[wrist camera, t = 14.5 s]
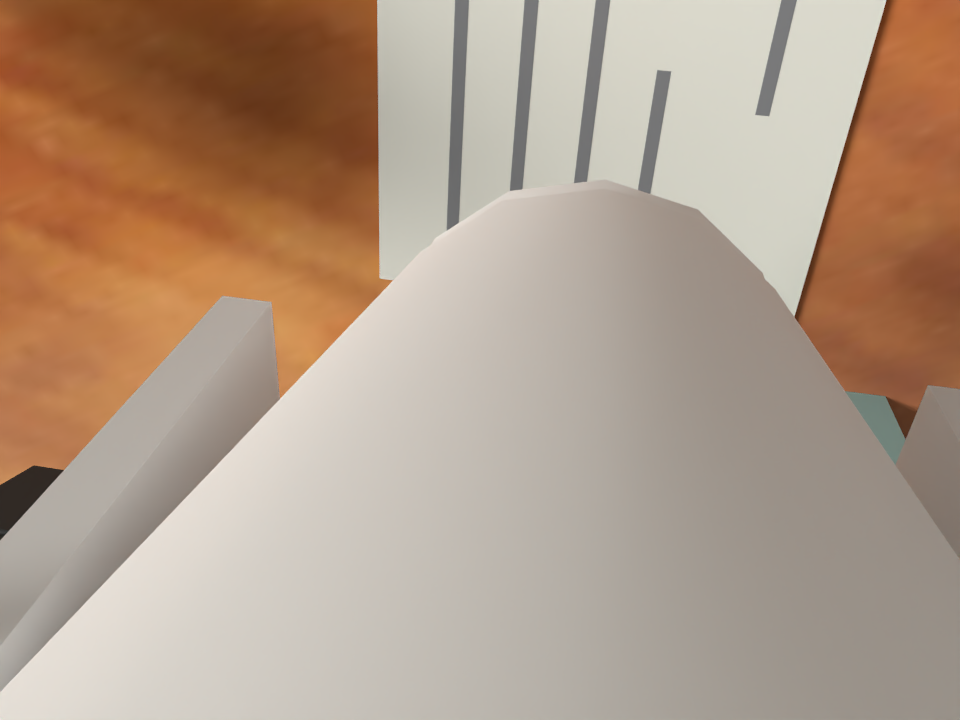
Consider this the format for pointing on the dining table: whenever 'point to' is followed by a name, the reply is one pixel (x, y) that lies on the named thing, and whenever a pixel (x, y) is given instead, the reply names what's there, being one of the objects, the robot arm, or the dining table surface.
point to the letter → (621, 112)
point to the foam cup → (538, 510)
